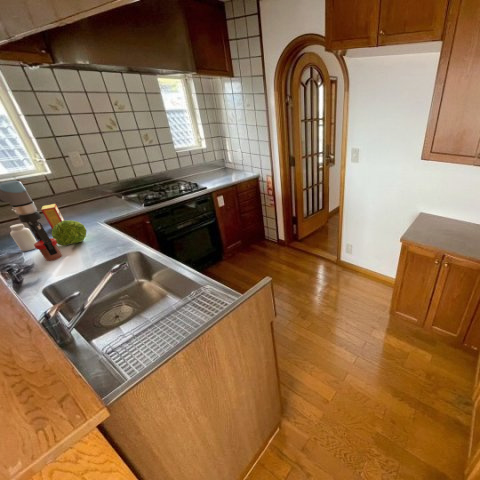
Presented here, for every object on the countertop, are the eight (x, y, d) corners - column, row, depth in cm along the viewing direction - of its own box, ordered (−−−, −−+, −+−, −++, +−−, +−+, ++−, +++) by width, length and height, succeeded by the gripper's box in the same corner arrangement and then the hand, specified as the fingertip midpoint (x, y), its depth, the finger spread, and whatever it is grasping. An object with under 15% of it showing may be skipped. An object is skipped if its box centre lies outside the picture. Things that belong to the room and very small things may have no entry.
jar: (44, 265, 138) (33, 247, 133) (50, 259, 144) (39, 241, 139) (61, 262, 141) (51, 244, 136) (66, 256, 147) (56, 238, 142)
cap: (59, 244, 139) (57, 240, 138) (39, 251, 133) (36, 247, 132) (54, 240, 143) (52, 236, 142) (33, 247, 137) (31, 243, 136)
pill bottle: (36, 244, 161) (22, 221, 154) (42, 246, 158) (28, 223, 151) (18, 249, 155) (3, 227, 148) (24, 252, 152) (9, 229, 145)
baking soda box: (54, 226, 184) (42, 205, 176) (66, 224, 187) (55, 203, 180) (53, 231, 177) (40, 209, 170) (65, 228, 181) (54, 206, 173)
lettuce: (61, 245, 167) (93, 239, 176) (51, 248, 147) (87, 242, 155) (54, 222, 165) (87, 217, 173) (42, 222, 144) (80, 217, 153)
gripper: (10, 211, 132) (35, 250, 142) (23, 219, 122) (48, 260, 132) (30, 206, 137) (52, 244, 148) (44, 213, 127) (67, 253, 138)
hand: (50, 252), depth 140 cm, fingers closed on cap, 8 cm apart
